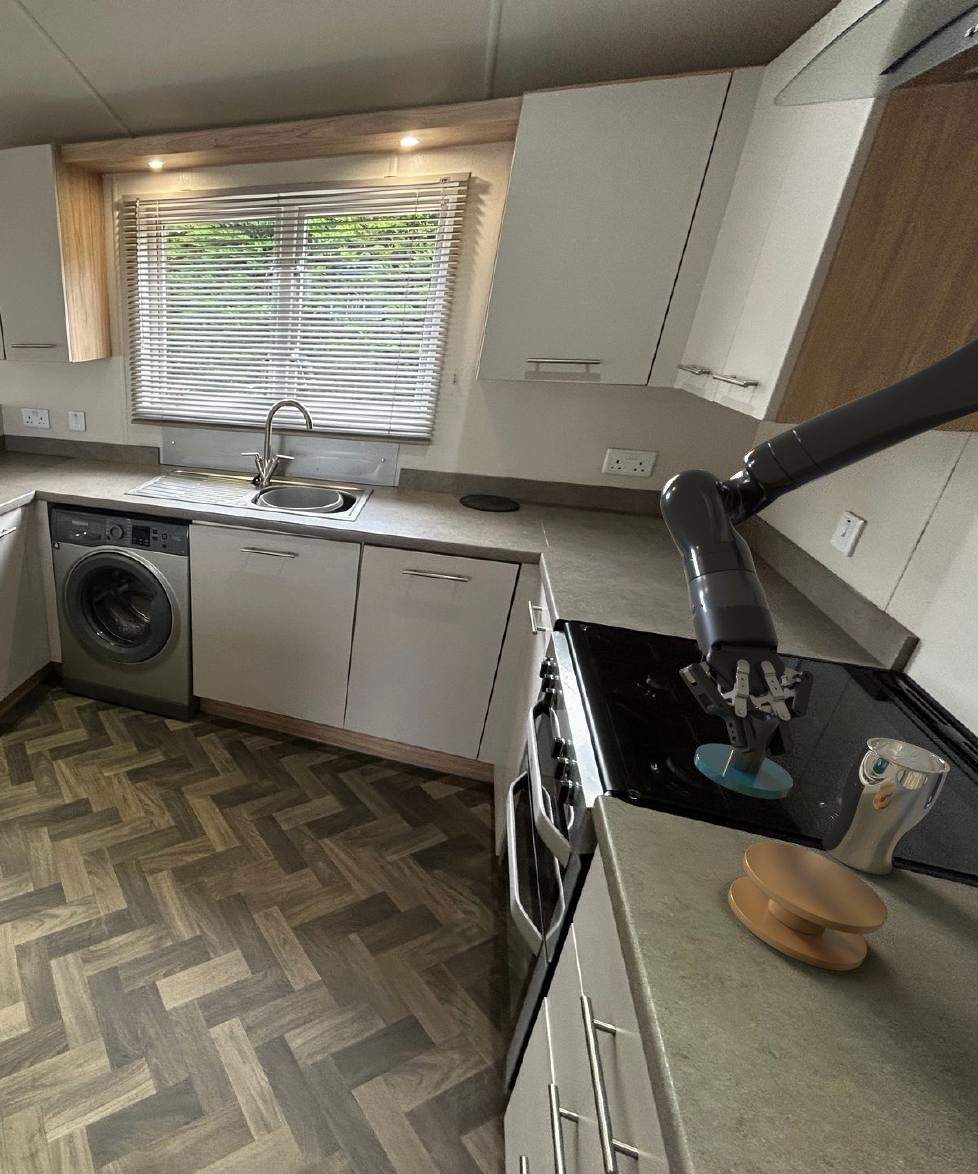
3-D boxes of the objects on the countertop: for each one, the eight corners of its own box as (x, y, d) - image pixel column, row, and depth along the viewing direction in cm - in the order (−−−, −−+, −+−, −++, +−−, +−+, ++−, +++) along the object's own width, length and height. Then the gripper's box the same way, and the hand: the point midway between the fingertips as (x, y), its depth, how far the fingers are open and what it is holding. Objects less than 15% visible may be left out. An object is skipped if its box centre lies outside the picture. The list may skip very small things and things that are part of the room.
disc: (755, 754, 79) (778, 698, 76) (810, 803, 71) (837, 742, 68) (677, 748, 80) (697, 692, 77) (722, 795, 72) (746, 734, 69)
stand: (809, 888, 72) (829, 848, 70) (894, 978, 62) (921, 933, 60) (705, 877, 74) (721, 837, 71) (772, 962, 63) (793, 919, 61)
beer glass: (809, 827, 81) (855, 729, 76) (883, 848, 78) (937, 748, 73) (825, 862, 76) (876, 760, 70) (905, 887, 72) (965, 781, 67)
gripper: (687, 599, 76) (719, 742, 69) (816, 606, 74) (862, 754, 67) (652, 621, 83) (678, 753, 76) (769, 628, 81) (807, 764, 74)
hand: (764, 753), depth 72 cm, fingers closed on disc, 3 cm apart
